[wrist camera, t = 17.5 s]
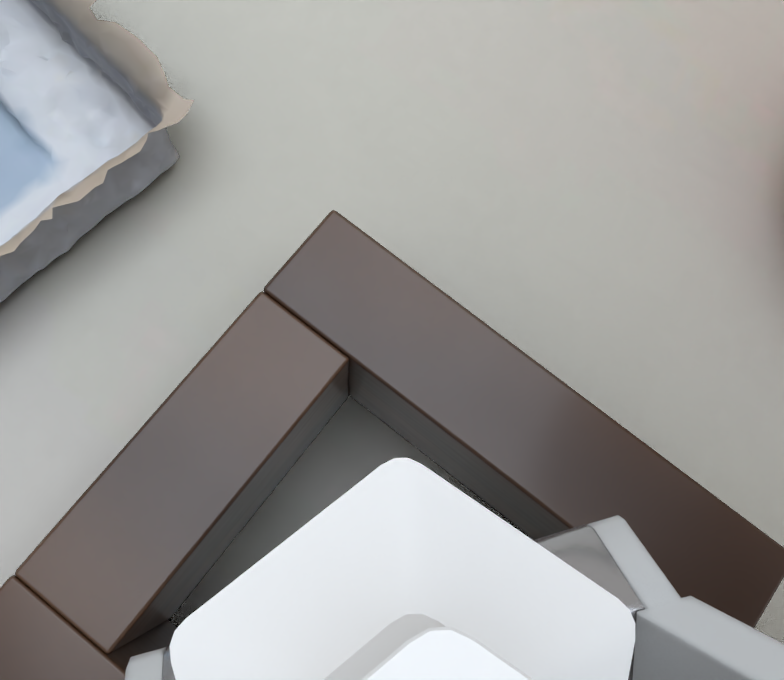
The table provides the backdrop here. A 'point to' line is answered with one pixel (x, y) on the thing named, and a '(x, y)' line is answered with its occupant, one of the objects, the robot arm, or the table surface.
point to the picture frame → (73, 128)
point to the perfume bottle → (407, 598)
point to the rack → (305, 421)
